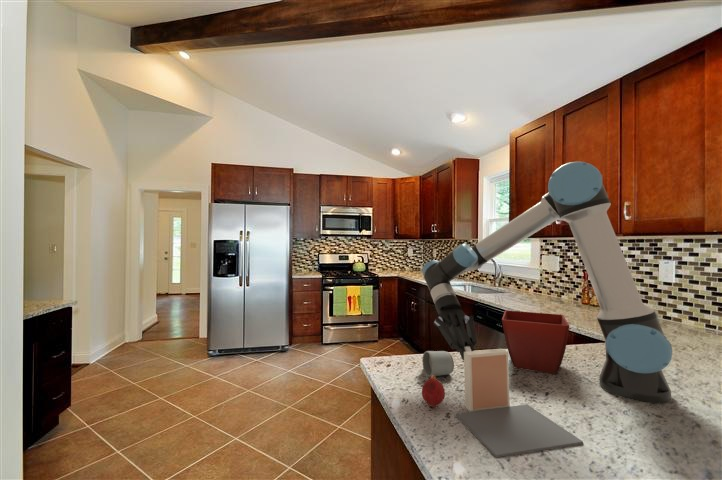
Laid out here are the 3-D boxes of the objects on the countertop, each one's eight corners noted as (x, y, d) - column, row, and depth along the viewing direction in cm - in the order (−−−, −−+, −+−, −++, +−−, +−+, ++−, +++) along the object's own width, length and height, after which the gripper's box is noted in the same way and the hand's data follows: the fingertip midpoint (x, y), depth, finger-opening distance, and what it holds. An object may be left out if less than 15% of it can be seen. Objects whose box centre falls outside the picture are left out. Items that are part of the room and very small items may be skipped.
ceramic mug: (456, 377, 98) (455, 352, 99) (432, 380, 96) (431, 355, 97) (439, 366, 109) (438, 344, 109) (417, 369, 107) (417, 346, 107)
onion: (440, 415, 76) (440, 381, 76) (418, 409, 79) (418, 377, 79) (447, 405, 81) (447, 373, 81) (426, 399, 84) (426, 369, 84)
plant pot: (565, 361, 112) (563, 313, 112) (571, 381, 95) (569, 325, 95) (506, 353, 121) (505, 309, 121) (503, 370, 104) (501, 319, 104)
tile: (503, 402, 82) (501, 348, 82) (510, 407, 79) (508, 351, 80) (465, 407, 80) (463, 351, 80) (471, 412, 77) (469, 355, 78)
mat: (455, 415, 76) (455, 413, 76) (527, 406, 80) (527, 404, 80) (496, 457, 60) (495, 455, 60) (583, 443, 64) (583, 441, 64)
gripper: (459, 306, 106) (490, 374, 89) (423, 308, 104) (448, 379, 87) (467, 292, 101) (501, 362, 84) (430, 294, 99) (457, 366, 82)
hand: (474, 370), depth 85 cm, fingers closed
